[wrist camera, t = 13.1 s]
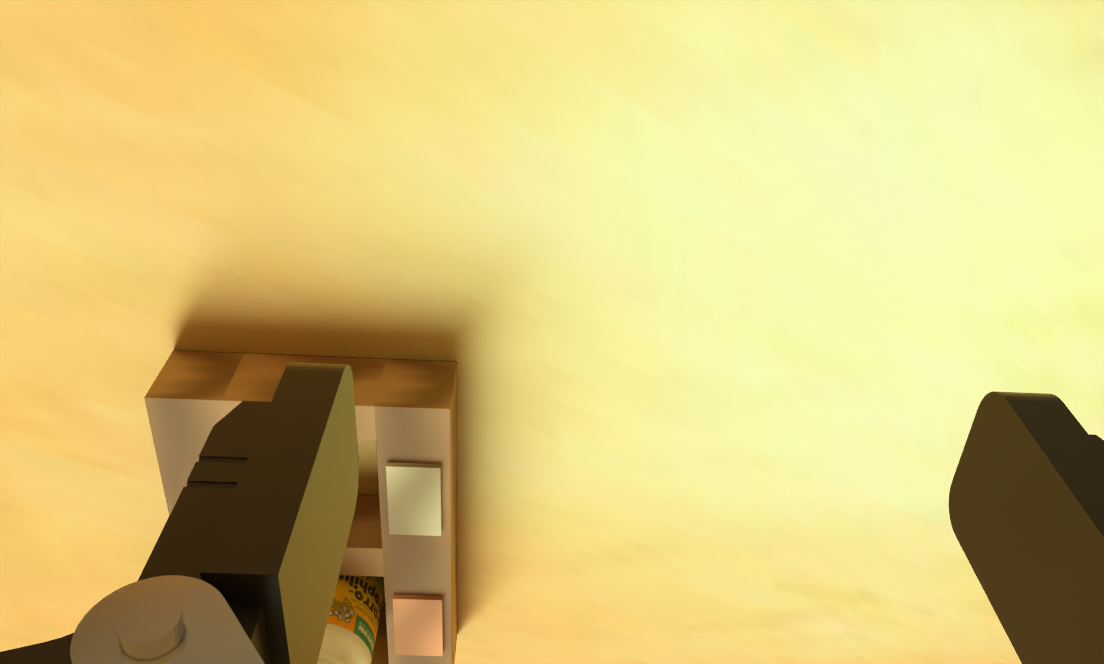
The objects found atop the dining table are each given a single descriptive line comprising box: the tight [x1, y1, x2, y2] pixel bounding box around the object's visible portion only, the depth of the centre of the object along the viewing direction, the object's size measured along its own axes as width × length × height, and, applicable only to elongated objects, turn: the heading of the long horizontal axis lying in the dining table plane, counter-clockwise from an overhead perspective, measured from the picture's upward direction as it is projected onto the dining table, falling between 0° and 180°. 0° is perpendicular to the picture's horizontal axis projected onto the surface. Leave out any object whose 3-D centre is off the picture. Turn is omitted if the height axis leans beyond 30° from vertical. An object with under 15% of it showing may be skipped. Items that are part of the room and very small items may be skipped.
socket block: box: [145, 351, 457, 664], centre depth 51 cm, size 14×20×4 cm
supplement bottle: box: [317, 575, 385, 664], centre depth 51 cm, size 5×5×10 cm
